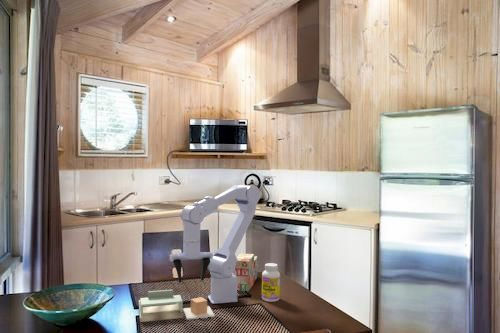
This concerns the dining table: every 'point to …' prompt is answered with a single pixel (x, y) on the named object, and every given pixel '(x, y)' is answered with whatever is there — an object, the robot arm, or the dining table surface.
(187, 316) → the tile
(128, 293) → the dining table surface
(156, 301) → the sliding cover
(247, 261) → the printed cardboard box
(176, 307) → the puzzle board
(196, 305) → the block
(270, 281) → the supplement bottle
